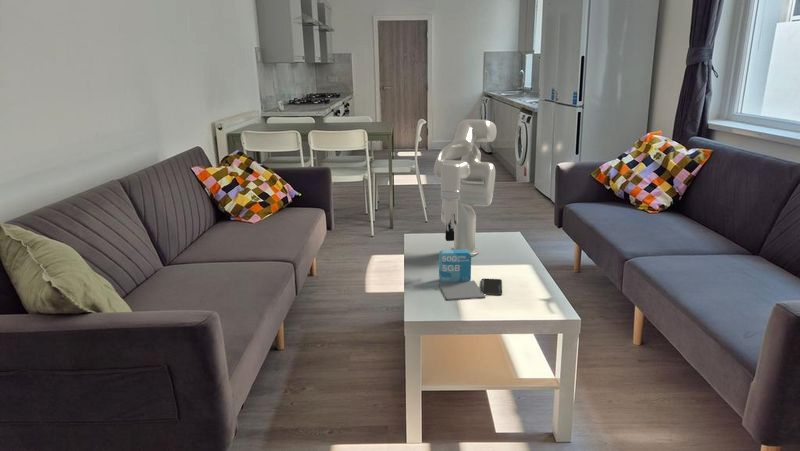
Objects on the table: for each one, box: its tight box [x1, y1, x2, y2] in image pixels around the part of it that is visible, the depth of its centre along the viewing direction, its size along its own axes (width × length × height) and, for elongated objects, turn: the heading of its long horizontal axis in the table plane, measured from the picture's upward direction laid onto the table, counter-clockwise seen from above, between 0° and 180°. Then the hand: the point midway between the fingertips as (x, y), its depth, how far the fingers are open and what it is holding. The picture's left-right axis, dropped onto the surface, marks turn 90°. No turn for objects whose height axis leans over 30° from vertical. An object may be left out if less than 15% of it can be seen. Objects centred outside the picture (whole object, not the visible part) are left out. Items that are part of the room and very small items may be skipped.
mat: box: [437, 280, 486, 301], centre depth 201 cm, size 16×14×1 cm
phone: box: [480, 278, 503, 296], centre depth 204 cm, size 8×1×15 cm
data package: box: [438, 249, 472, 283], centre depth 211 cm, size 12×4×12 cm, turn 90°
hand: (449, 240), depth 217 cm, fingers closed
